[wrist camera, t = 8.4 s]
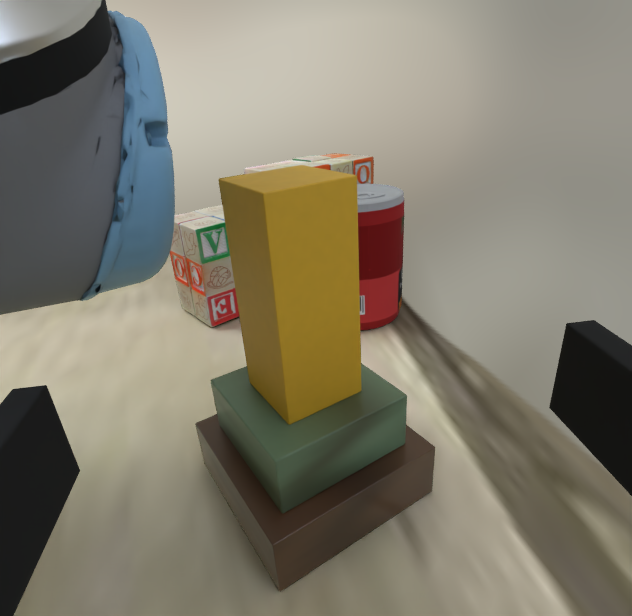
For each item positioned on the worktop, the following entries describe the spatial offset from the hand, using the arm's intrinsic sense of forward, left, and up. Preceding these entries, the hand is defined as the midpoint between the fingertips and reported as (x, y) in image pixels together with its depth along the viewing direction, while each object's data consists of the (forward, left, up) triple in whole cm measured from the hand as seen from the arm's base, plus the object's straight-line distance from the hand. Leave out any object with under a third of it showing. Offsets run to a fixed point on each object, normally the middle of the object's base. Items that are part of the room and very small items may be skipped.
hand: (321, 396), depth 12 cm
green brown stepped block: (+4, +8, -12) cm, 15 cm away
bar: (+4, +8, -6) cm, 10 cm away
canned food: (+18, +22, -12) cm, 31 cm away
